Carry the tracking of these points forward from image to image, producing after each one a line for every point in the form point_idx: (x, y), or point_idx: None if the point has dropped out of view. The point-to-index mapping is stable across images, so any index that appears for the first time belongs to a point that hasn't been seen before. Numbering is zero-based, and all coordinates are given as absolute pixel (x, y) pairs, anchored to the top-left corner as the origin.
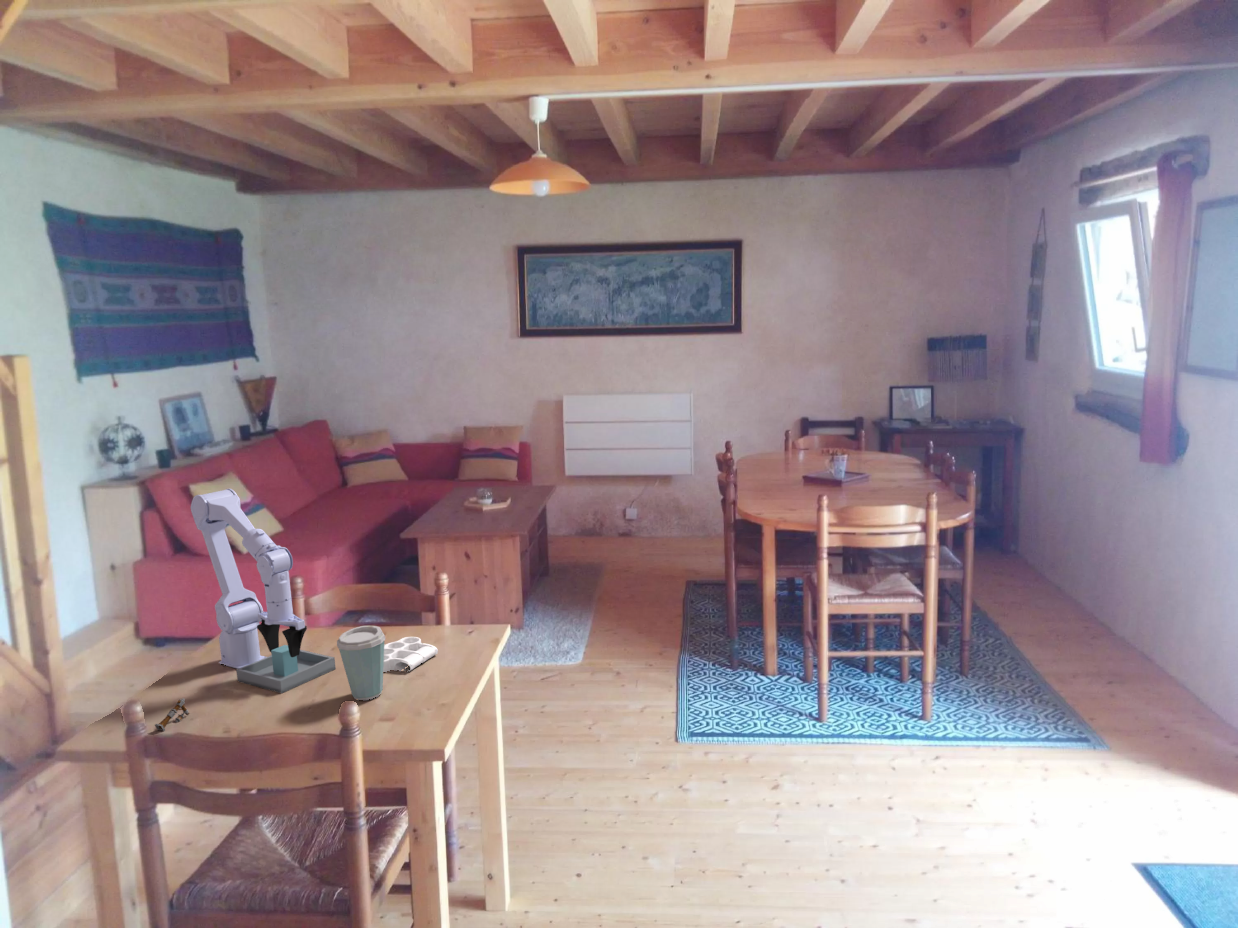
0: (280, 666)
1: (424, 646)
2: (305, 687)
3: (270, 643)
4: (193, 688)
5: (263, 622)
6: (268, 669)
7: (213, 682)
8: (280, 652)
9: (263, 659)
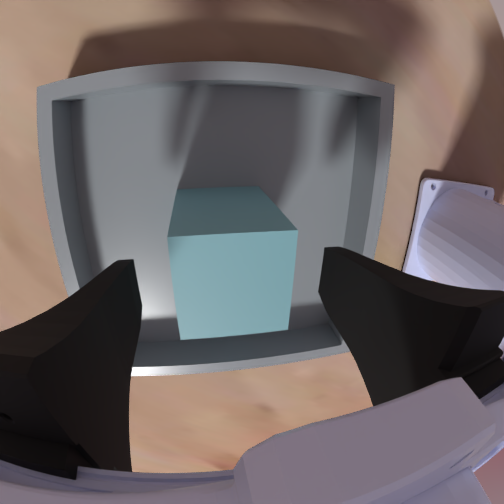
0: (202, 201)
1: None
2: (34, 184)
3: (352, 276)
4: (435, 12)
5: (490, 367)
6: (323, 209)
7: (426, 61)
8: (187, 235)
9: (370, 226)
